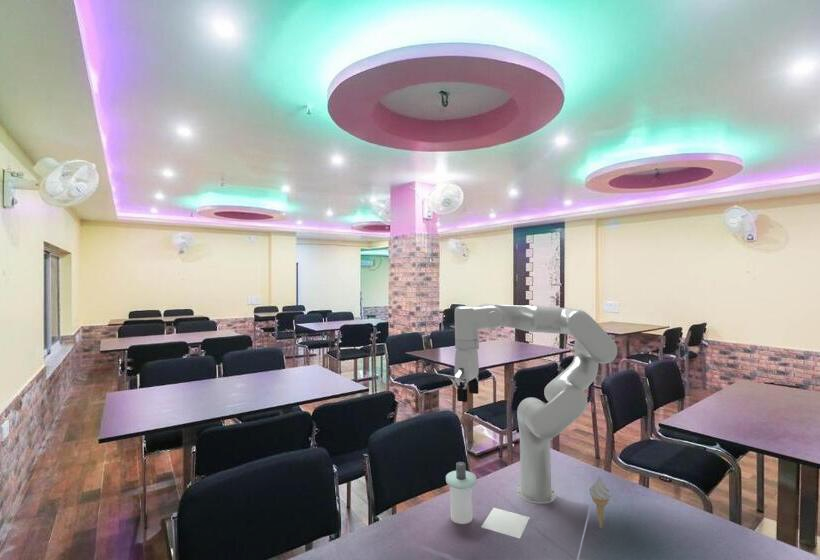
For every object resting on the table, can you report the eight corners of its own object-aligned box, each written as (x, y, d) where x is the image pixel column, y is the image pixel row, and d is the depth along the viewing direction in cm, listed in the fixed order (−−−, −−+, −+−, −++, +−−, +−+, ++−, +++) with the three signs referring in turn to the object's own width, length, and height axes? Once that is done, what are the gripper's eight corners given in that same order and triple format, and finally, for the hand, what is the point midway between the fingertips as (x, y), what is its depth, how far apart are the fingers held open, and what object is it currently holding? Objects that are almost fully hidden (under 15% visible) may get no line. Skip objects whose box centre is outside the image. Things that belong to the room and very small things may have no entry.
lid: (453, 471, 126) (452, 455, 126) (480, 477, 121) (480, 460, 121) (440, 484, 118) (440, 467, 118) (470, 491, 113) (469, 473, 113)
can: (472, 528, 116) (471, 486, 116) (449, 526, 117) (448, 484, 117) (473, 515, 122) (472, 475, 122) (451, 513, 124) (450, 474, 124)
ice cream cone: (610, 524, 116) (609, 472, 116) (613, 536, 111) (612, 482, 111) (589, 521, 118) (588, 470, 118) (591, 532, 113) (589, 479, 113)
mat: (493, 510, 125) (493, 507, 125) (529, 520, 119) (529, 517, 119) (481, 530, 115) (481, 526, 115) (519, 542, 110) (519, 538, 109)
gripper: (466, 339, 140) (467, 389, 140) (444, 347, 125) (446, 403, 125) (487, 341, 136) (488, 391, 136) (467, 349, 121) (469, 406, 121)
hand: (468, 397), depth 131 cm, fingers open, 9 cm apart
